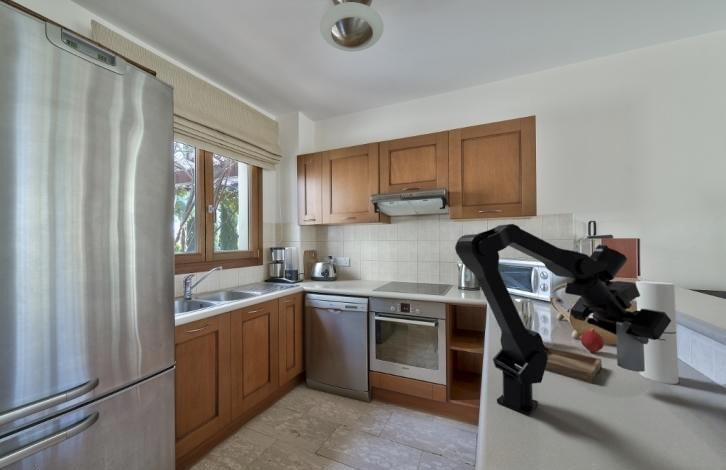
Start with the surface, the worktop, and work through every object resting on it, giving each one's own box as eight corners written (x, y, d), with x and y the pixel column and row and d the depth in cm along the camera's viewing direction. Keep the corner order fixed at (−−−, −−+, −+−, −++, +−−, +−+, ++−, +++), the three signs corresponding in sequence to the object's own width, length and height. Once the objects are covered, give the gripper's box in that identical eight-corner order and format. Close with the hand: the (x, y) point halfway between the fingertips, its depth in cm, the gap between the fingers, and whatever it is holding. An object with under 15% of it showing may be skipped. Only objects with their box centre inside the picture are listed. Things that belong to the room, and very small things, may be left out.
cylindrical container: (687, 385, 70) (682, 284, 71) (653, 382, 71) (649, 283, 72) (662, 372, 77) (659, 281, 78) (632, 370, 78) (629, 280, 79)
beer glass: (533, 346, 97) (532, 302, 98) (511, 341, 101) (510, 300, 102) (535, 340, 103) (534, 299, 103) (514, 337, 107) (513, 297, 108)
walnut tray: (591, 383, 70) (591, 373, 70) (530, 365, 81) (529, 357, 81) (601, 367, 80) (601, 359, 80) (545, 353, 90) (544, 345, 90)
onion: (577, 351, 93) (576, 326, 93) (587, 348, 95) (586, 324, 95) (598, 357, 87) (597, 331, 88) (608, 354, 90) (607, 329, 90)
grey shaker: (644, 373, 64) (642, 316, 64) (615, 366, 68) (613, 312, 68) (646, 367, 67) (644, 313, 68) (618, 361, 71) (616, 309, 71)
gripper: (662, 273, 58) (704, 324, 60) (577, 267, 77) (611, 306, 78) (634, 313, 57) (677, 364, 58) (554, 297, 75) (589, 336, 77)
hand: (634, 339), depth 68 cm, fingers closed on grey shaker, 5 cm apart
